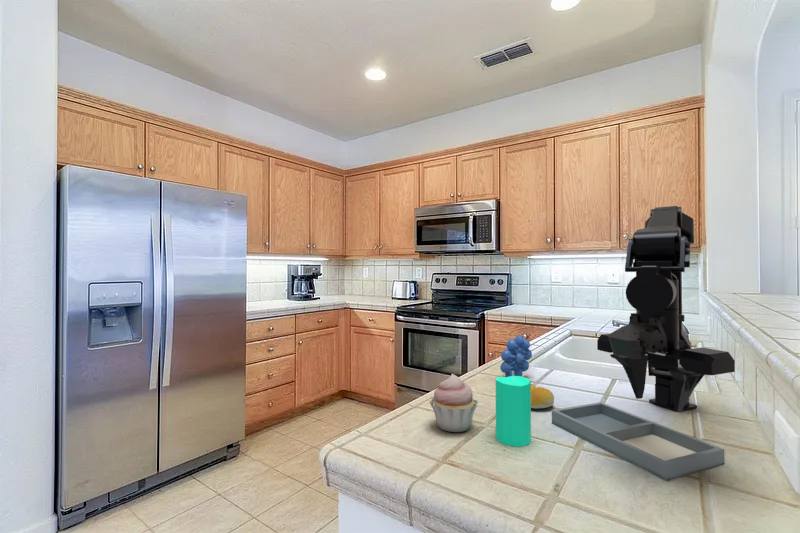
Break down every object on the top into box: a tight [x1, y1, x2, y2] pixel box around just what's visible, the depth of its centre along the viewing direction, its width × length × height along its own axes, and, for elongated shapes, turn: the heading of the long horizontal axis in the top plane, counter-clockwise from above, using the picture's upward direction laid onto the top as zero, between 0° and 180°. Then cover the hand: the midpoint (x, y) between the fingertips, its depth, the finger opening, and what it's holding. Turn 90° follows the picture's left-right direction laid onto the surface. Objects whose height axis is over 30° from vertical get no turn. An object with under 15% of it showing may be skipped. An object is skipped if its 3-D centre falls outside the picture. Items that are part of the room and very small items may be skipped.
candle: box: [495, 371, 532, 447], centre depth 68 cm, size 6×6×12 cm
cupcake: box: [428, 373, 479, 433], centre depth 74 cm, size 9×9×10 cm
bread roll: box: [531, 383, 555, 409], centre depth 85 cm, size 8×9×4 cm
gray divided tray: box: [551, 401, 725, 482], centre depth 67 cm, size 13×22×2 cm, turn 21°
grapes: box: [499, 334, 533, 377], centre depth 106 cm, size 12×7×12 cm, turn 123°
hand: (657, 404), depth 62 cm, fingers open, 6 cm apart
